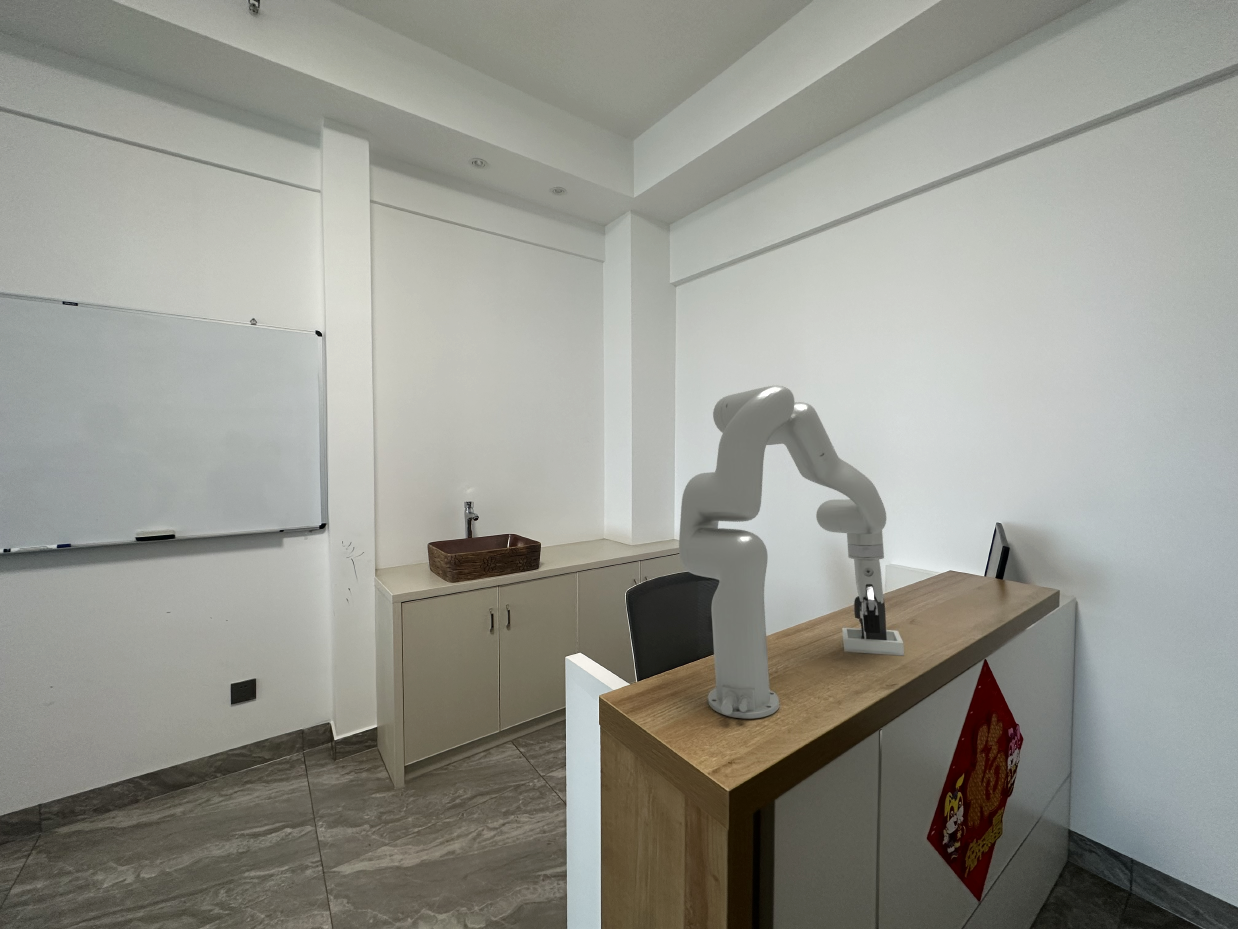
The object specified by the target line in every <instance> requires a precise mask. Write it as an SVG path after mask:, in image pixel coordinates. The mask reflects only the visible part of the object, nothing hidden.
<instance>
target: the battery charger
mask: <svg viewBox="0 0 1238 929" xmlns="http://www.w3.org/2000/svg"><path fill="white" fill-rule="evenodd" d="M865 600H868V599H865ZM883 600H884V602H883V603H882V604H881V603H880V602H878V601H877V608H878V615H879V622H880V633H866V632H865V631H864V621H863V614H864V605H863V603H862V602H861V601H860V599H859V596H856V597H855V598H854V601H853V602H854V603H853V607H854V610H853V611H854V618H855V619H858V622H859V623H860V627H861V628H860V629H861V630H862V637H861V639H871V640H887V635H886V630H887V621H886V619H887V618H886V605H885V598H884V597H883ZM866 606H867V605H866Z"/></svg>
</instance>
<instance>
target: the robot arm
mask: <svg viewBox="0 0 1238 929" xmlns="http://www.w3.org/2000/svg"><path fill="white" fill-rule="evenodd" d="M712 416H713V418H712V419H713V422H714V424H715V426H716V428H717V429H718V431H720V432H721V433H722V435H721V436H720V440H719V443H718V448H717V458H716V459H717V460H716V467H715V471H713V472H702V473H699V474H696V475H694V476H693V477H691V479H690V480H688V482H687V484H686V485H685V488H684V489H683V493H682V497H681V507H680V518H679V519H680V524H679V538H678V554H679V559H680V562H681V565H682V566H683V568H684V569H685V570H686V571H687V572H688V573H690V574H693V575H695V576H700V577H704V578H711V579H714V580H718V582H719V583H718V586H717V588H716V590H715V592H714V593H713V597H712V600H711V622H712V623H711V624H712V638H713V639H712V640H713V657H714V659H713V661H714V676H715V688H712V689H711V691H709V693H708V695H707V702H708V705H709V707H710V708H711V709H713V710H714V711H716V712H717V713H719V714H721V715H724V716H726V717H731V718H736V719H744V720H746V719H749V720H751V719H760V718H766V717H768V716H771V715H773V714H774V713H775V712H777V711H778V709H779V708H780V698H779V696H778V695H777V693H776V692H774V691H773V690H772V689H770V680H769V679H770V678H769V677H770V676H769V658H768V644H767V642H768V641H767V628H766V627H767V626H766V625H767V624H766V610H765V607H766V606H765V583H766V574H767V567H768V550H767V546H766V544H765V542H764V541H763V539H762V538H761V537H760V536H758V535H757V534H756V533H753V532H751V531H749V530H743V529H738V528H719V522H729V523H730V522H733V523H734V522H735V523H736V522H739V523H740V522H749V521H752V520H753V519H755V518H756V517H757V516H759V513H760V511H761V507H762V506H761V505H762V496H763V493H762V492H763V474H764V460H765V451H766V446H773V445H784V446H785V448H786V449H787V451H788V453H789V455H790V457H791V458H792V460H793V462H794V465H795V466H796V468H797V470H798V472H799V474H800V475H801V476H802V478H804V479H806V480H808V481H810V482H812V483H814V484H817V485H820V486H823V487H826V488H828V489H832V490H834V491H837V492H839V493H841V494H842V495H844V496H846V497H847V498H848V499H828V500H826V501H824V502H823V503H821V504H820V505H819V507H818V508H817V510H816V514H815V515H816V521H817V524H818V525H819V526H820V528H822V529H823V530H825V531H827V532H829V533H838V534H846V541H847V542H846V543H847V554H848V556H847V557H848V559H852V560H853V561H854V564H853V565H854V575H855V584H856V590H857V595H858V596H859V599H860V601H861V602H862V603H863V605H864V614H863V621H864V631H865V632H866V633H880V622H879V615H878V608H877V601H878V602H880V603H881V604H882V603H883V602H885V599H884V600H883V598H884V593H883V590H884V589H883V581H882V580H883V579H882V571H881V570H882V569H881V562H880V560H883V559H885V552H884V551H885V550H884V540H883V538H884V536H883V529H884V528H885V527H886V524H887V511H886V508H885V505H884V503H883V500H882V498H881V495H880V494H879V491H878V490H877V488H876V486H875V484H874V482H872V481H871V479H870V478H869V477H867V476H866V475H865V474H863V473H862V472H861V471H860V470H858V469H857V468H855V467H854V466H853V465H851V464H849V463H848V462H846V461H845V460H843V459H842V458H840V457H839V455H838V454H837V451H836V449H835V446H834V445H833V443H832V441H831V439H830V438H829V435H828V433H827V431H826V428H825V426H824V424H823V423H822V421H821V419H820V418H821V417H820V415H818V413H817V411H816V409H815V408H814V407H813V406H812V405H811V404H809V403H808V402H804V401H803V402H802V401H801V402H800V401H798V402H797V401H796V402H795V396H794V394H793V392H792V390H791V389H790V388H787V387H786V386H783V385H768V386H764V387H758V388H753V389H750V390H747V391H743V392H737V393H733V394H730V395H729V394H728V395H725V396H723V397H722V398H720V399H719V400H718V401H717V402H716V404H715V405H714V408H713V412H712ZM865 599H868V600H865ZM866 605H867V606H866Z"/></svg>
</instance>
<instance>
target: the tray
mask: <svg viewBox="0 0 1238 929" xmlns="http://www.w3.org/2000/svg"><path fill="white" fill-rule="evenodd" d="M841 629H842V642H843V651H844V653H845V652H848V653H861V654H862V653H863V654H873V655H875V654H876V655H889V656H890V655H891V656H902V657H904V656H905V650H904V647H905V646H904V641H903V639H902V637H901V635H900V632H899V630H894V629H893V630H890V629H889V630H888V629H886V635H887V640H871V639H861V637H862V630H861V628H854V627H842V628H841Z"/></svg>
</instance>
